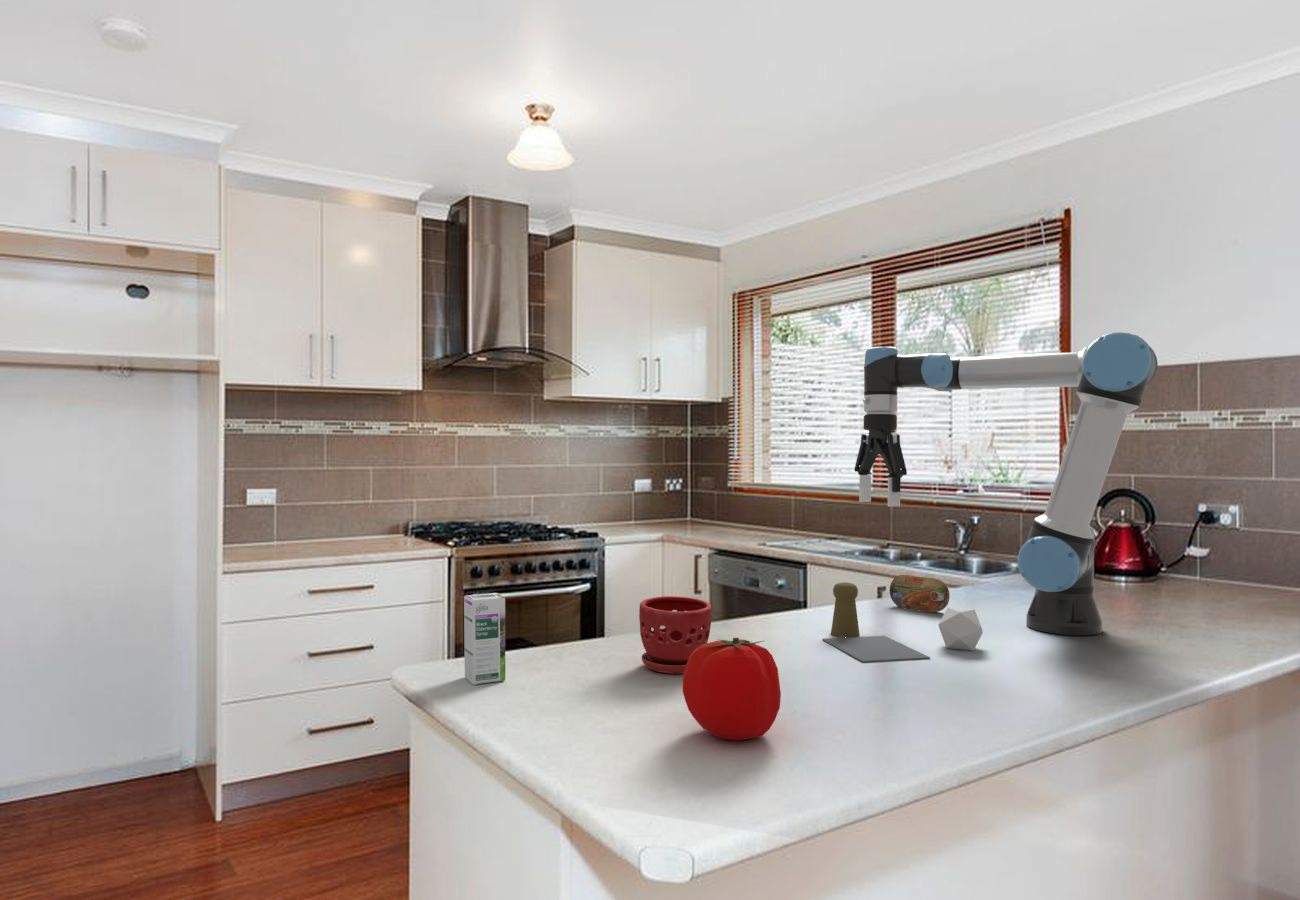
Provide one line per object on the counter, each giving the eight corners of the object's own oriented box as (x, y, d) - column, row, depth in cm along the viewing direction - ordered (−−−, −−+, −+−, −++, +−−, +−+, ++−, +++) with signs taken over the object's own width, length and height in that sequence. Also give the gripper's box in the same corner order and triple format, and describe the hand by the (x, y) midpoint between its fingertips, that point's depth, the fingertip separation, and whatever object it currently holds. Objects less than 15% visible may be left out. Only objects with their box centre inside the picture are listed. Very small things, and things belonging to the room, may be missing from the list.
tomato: (779, 756, 110) (780, 652, 110) (675, 749, 113) (676, 647, 113) (781, 718, 126) (782, 626, 126) (690, 712, 128) (690, 622, 128)
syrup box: (472, 685, 141) (473, 599, 141) (463, 676, 147) (463, 593, 146) (505, 681, 144) (506, 596, 144) (495, 672, 149) (495, 591, 149)
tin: (888, 606, 211) (889, 572, 211) (895, 604, 214) (895, 571, 214) (944, 615, 200) (945, 580, 200) (951, 613, 203) (951, 578, 202)
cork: (864, 634, 180) (865, 583, 180) (850, 639, 176) (850, 586, 176) (839, 629, 185) (840, 579, 184) (825, 634, 180) (825, 583, 180)
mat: (822, 640, 175) (822, 638, 175) (884, 637, 178) (884, 635, 178) (862, 662, 157) (862, 660, 157) (930, 658, 160) (930, 657, 160)
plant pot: (628, 673, 149) (628, 606, 149) (653, 656, 161) (653, 593, 161) (699, 681, 145) (699, 611, 144) (719, 662, 157) (719, 598, 157)
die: (986, 648, 171) (960, 606, 175) (997, 636, 163) (971, 592, 168) (950, 664, 170) (925, 621, 175) (960, 652, 162) (934, 608, 167)
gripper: (841, 414, 209) (840, 500, 209) (892, 411, 184) (891, 508, 185) (869, 415, 210) (867, 499, 211) (923, 412, 186) (922, 508, 186)
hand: (878, 504), depth 198 cm, fingers open, 13 cm apart
